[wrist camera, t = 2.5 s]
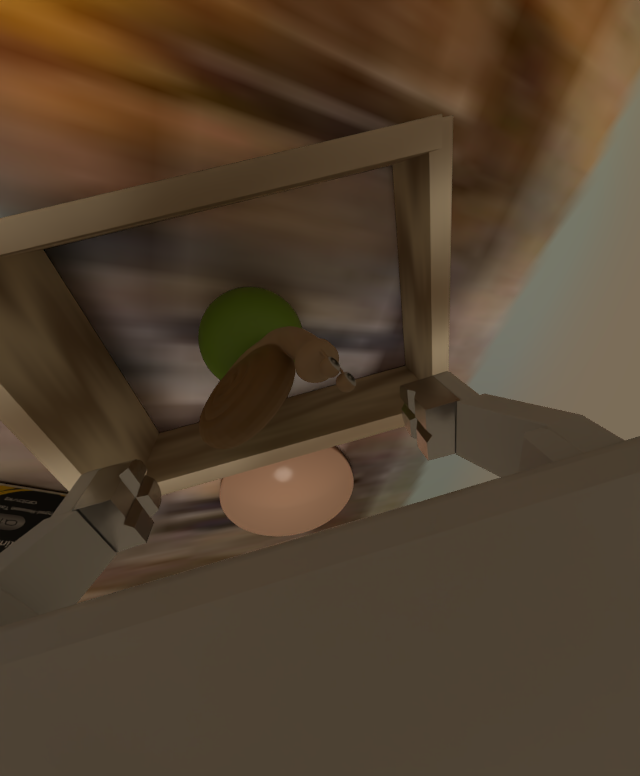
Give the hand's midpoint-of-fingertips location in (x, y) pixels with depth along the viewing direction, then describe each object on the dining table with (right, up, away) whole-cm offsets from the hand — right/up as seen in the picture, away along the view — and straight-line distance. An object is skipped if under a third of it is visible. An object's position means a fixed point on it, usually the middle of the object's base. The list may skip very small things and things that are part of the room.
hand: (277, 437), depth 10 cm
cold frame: (-2, +6, +9) cm, 11 cm away
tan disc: (-1, -7, +17) cm, 18 cm away
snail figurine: (-2, +6, +9) cm, 11 cm away
